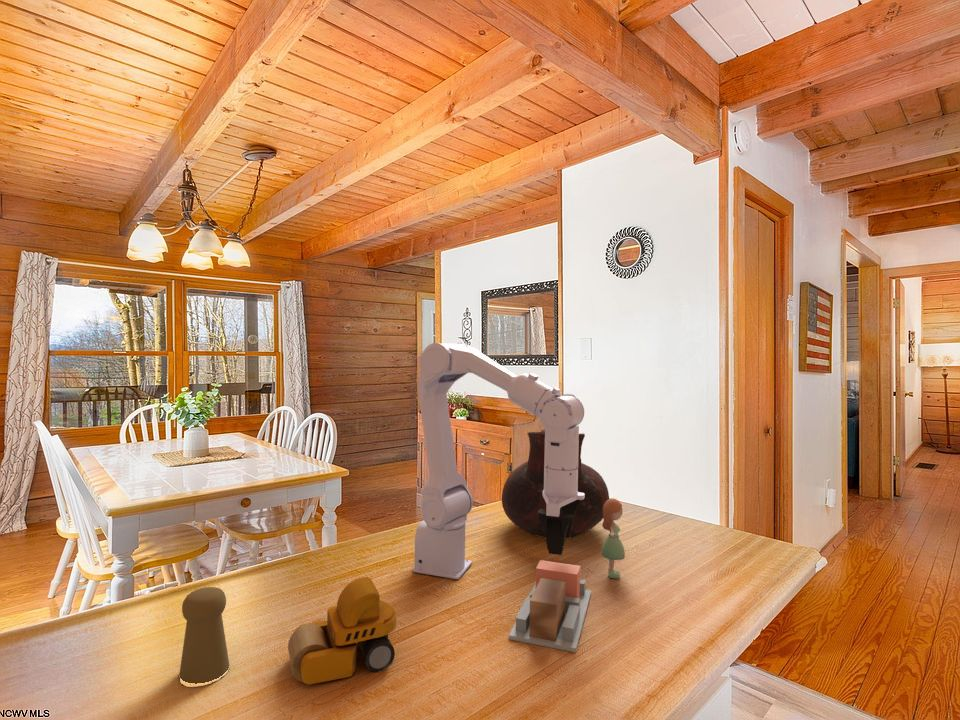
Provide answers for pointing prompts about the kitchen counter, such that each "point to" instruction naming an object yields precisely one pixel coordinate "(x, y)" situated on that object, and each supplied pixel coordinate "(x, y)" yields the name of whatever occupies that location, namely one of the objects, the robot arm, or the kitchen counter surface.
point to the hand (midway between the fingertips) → (559, 545)
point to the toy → (612, 535)
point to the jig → (569, 627)
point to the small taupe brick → (547, 609)
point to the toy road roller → (345, 636)
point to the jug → (528, 485)
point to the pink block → (560, 575)
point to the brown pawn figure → (204, 636)
